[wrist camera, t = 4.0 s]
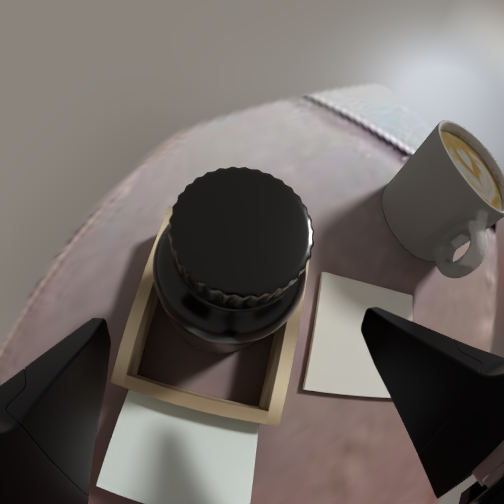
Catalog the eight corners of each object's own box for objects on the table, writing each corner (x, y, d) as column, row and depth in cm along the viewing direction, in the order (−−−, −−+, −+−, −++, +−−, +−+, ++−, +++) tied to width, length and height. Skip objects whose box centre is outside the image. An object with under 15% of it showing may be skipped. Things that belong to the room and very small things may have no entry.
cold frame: (267, 418, 17) (278, 426, 15) (123, 381, 17) (110, 382, 14) (298, 260, 22) (311, 244, 20) (172, 227, 22) (169, 205, 19)
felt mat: (401, 398, 19) (404, 398, 19) (302, 389, 18) (304, 389, 18) (409, 296, 23) (412, 295, 23) (320, 273, 22) (322, 271, 22)
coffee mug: (386, 165, 29) (433, 104, 20) (449, 207, 29) (501, 160, 20) (368, 264, 23) (445, 203, 14) (445, 306, 23) (524, 270, 14)
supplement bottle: (149, 311, 19) (92, 229, 8) (211, 243, 22) (227, 118, 11) (227, 375, 18) (267, 379, 7) (285, 300, 21) (371, 217, 10)
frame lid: (236, 498, 14) (246, 527, 10) (115, 468, 14) (95, 489, 10) (258, 409, 17) (275, 418, 13) (135, 377, 17) (116, 377, 13)
